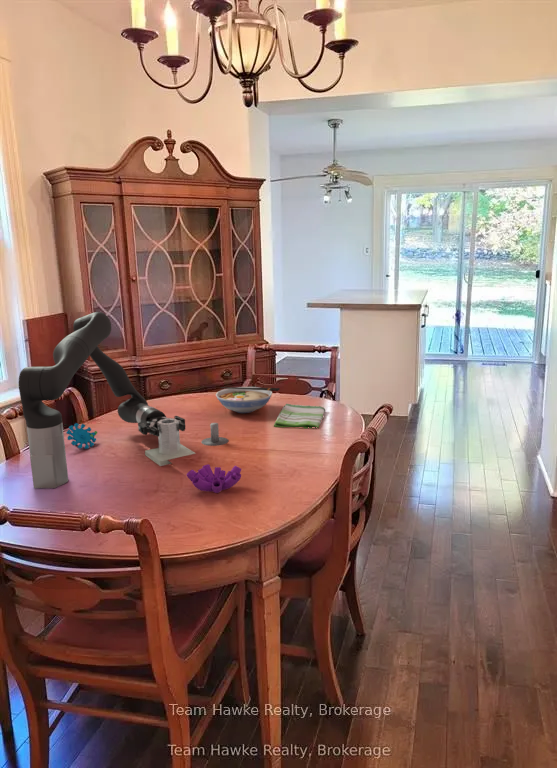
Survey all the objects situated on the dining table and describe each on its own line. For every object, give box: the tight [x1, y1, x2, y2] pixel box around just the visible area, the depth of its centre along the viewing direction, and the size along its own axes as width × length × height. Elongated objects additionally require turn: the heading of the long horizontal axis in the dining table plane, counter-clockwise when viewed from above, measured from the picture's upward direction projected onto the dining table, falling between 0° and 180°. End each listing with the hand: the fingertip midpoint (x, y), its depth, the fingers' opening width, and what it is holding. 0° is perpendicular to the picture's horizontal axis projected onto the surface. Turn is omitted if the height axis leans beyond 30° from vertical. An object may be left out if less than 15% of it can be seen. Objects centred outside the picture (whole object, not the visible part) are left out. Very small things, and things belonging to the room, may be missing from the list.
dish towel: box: [273, 403, 326, 429], centre depth 221 cm, size 17×23×4 cm
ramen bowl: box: [215, 386, 280, 414], centre depth 233 cm, size 25×23×8 cm
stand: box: [200, 422, 229, 447], centre depth 192 cm, size 9×9×8 cm
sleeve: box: [157, 419, 181, 455], centre depth 182 cm, size 6×6×10 cm
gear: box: [66, 422, 98, 450], centre depth 195 cm, size 11×6×10 cm
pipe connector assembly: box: [185, 464, 242, 494], centre depth 156 cm, size 11×15×10 cm
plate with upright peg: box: [144, 443, 197, 467], centre depth 183 cm, size 12×12×8 cm
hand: (171, 430), depth 180 cm, fingers open, 8 cm apart
